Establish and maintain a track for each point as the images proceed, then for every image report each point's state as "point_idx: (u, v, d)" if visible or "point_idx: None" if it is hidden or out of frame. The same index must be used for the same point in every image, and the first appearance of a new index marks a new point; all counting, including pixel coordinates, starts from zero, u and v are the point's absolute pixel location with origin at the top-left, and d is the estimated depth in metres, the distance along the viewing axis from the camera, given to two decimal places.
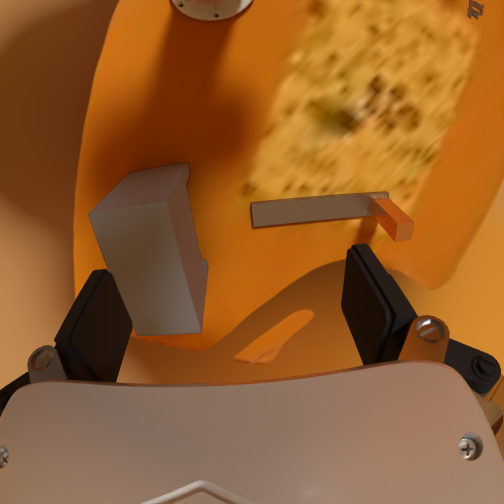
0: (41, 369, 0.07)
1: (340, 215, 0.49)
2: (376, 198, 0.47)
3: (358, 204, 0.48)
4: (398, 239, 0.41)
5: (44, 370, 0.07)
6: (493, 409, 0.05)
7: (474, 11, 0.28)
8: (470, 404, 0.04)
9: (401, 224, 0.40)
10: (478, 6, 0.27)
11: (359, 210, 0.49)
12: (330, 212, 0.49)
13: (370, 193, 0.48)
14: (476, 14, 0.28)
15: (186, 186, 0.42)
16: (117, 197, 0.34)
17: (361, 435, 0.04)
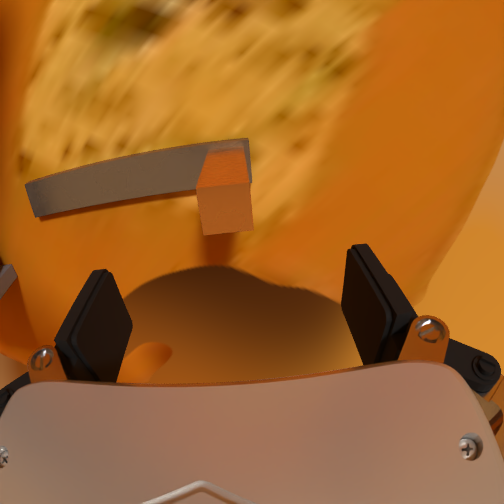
0: (41, 369, 0.07)
1: (153, 189, 0.26)
2: (216, 150, 0.24)
3: (183, 166, 0.25)
4: (212, 230, 0.18)
5: (44, 370, 0.07)
6: (493, 409, 0.05)
7: None
8: (470, 404, 0.04)
9: (208, 191, 0.16)
10: None
11: (188, 177, 0.26)
12: (133, 186, 0.26)
13: (208, 143, 0.25)
14: None
15: None
16: None
17: (361, 435, 0.04)
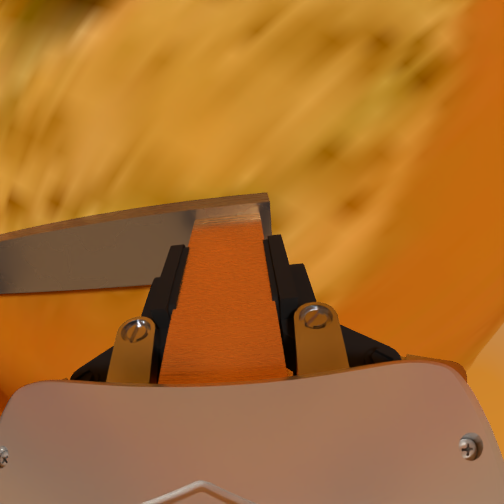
0: (130, 340, 0.08)
1: (109, 279, 0.15)
2: (209, 223, 0.13)
3: (153, 246, 0.14)
4: None
5: (132, 343, 0.08)
6: None
7: None
8: (470, 404, 0.04)
9: None
10: None
11: (163, 265, 0.15)
12: (78, 272, 0.15)
13: (194, 205, 0.14)
14: None
15: None
16: None
17: (361, 435, 0.04)
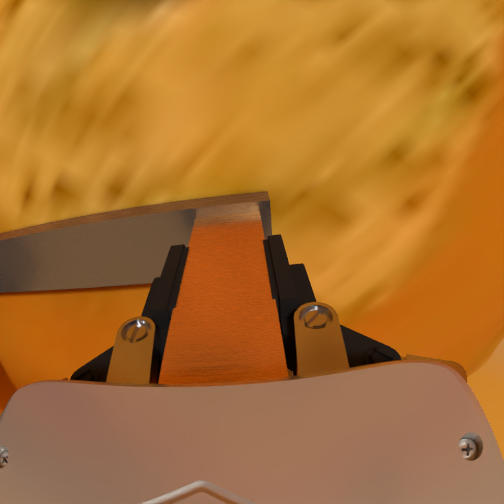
0: (130, 340, 0.08)
1: (109, 278, 0.15)
2: (209, 222, 0.13)
3: (153, 244, 0.15)
4: None
5: (132, 343, 0.08)
6: None
7: None
8: (470, 404, 0.04)
9: None
10: None
11: (163, 263, 0.15)
12: (78, 271, 0.15)
13: (195, 204, 0.14)
14: None
15: None
16: None
17: (361, 435, 0.04)
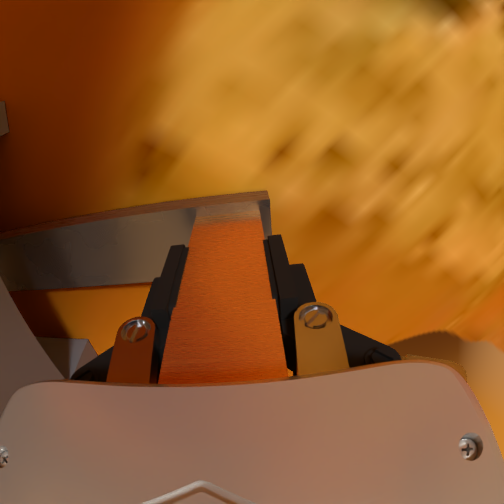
0: (130, 340, 0.08)
1: (110, 277, 0.16)
2: (209, 221, 0.13)
3: (154, 243, 0.15)
4: None
5: (132, 343, 0.07)
6: None
7: None
8: (470, 404, 0.04)
9: None
10: None
11: (164, 262, 0.15)
12: (79, 270, 0.15)
13: (195, 203, 0.14)
14: None
15: None
16: None
17: (361, 435, 0.04)
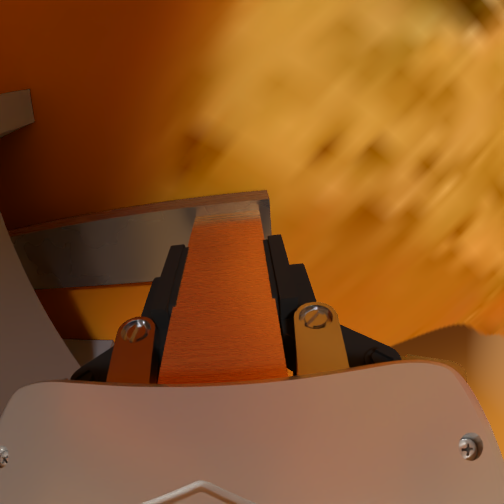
0: (130, 340, 0.08)
1: (110, 276, 0.16)
2: (209, 220, 0.13)
3: (154, 243, 0.15)
4: None
5: (132, 343, 0.08)
6: None
7: None
8: (470, 404, 0.04)
9: None
10: None
11: (164, 261, 0.15)
12: (79, 269, 0.15)
13: (195, 202, 0.14)
14: None
15: None
16: None
17: (361, 435, 0.04)
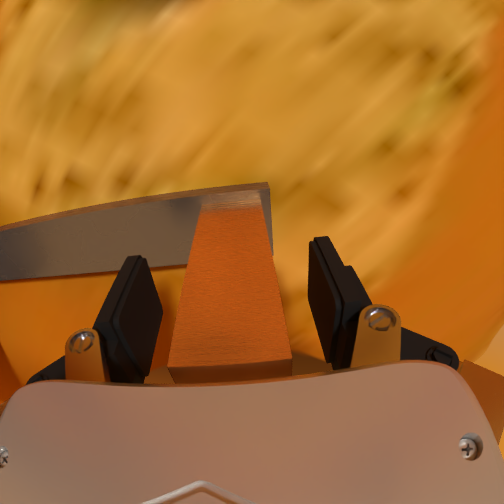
0: (79, 352, 0.07)
1: (119, 262, 0.17)
2: (214, 207, 0.15)
3: (162, 229, 0.16)
4: None
5: (81, 354, 0.07)
6: None
7: None
8: (470, 404, 0.04)
9: (196, 372, 0.07)
10: None
11: (171, 247, 0.16)
12: (90, 256, 0.16)
13: (201, 192, 0.15)
14: None
15: None
16: None
17: (361, 435, 0.04)
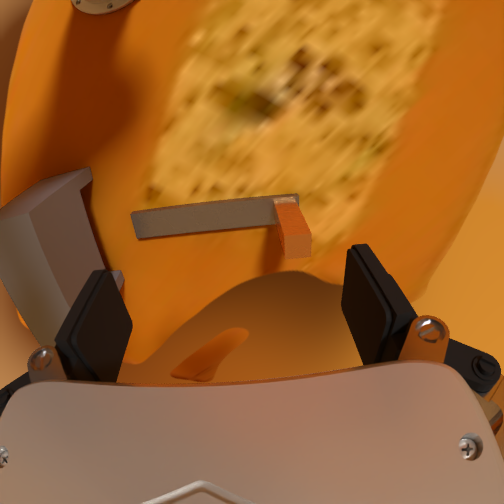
0: (41, 369, 0.07)
1: (235, 224, 0.42)
2: (279, 202, 0.40)
3: (257, 210, 0.42)
4: (290, 256, 0.34)
5: (44, 370, 0.07)
6: (493, 409, 0.05)
7: None
8: (470, 404, 0.04)
9: (290, 237, 0.33)
10: None
11: (259, 218, 0.42)
12: (221, 221, 0.42)
13: (273, 196, 0.41)
14: None
15: (80, 193, 0.35)
16: (6, 209, 0.27)
17: (361, 435, 0.04)
